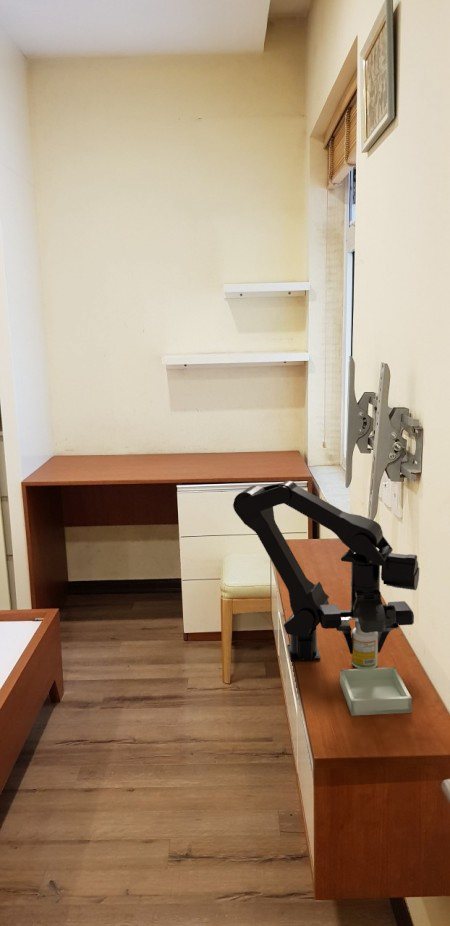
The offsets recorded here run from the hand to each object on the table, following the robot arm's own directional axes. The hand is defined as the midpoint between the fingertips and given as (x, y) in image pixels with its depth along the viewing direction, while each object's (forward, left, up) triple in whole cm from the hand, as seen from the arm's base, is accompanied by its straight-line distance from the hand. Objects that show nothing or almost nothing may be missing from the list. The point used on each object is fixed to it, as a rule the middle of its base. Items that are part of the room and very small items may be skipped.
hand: (364, 652), depth 138 cm
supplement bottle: (0, 0, -3) cm, 3 cm away
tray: (+12, -1, -3) cm, 12 cm away
